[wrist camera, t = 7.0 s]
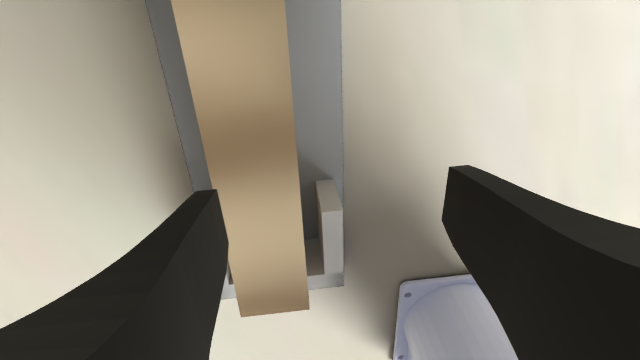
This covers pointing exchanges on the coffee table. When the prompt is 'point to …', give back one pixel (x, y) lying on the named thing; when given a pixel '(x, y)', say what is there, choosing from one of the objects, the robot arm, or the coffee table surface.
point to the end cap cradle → (309, 116)
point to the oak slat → (249, 143)
